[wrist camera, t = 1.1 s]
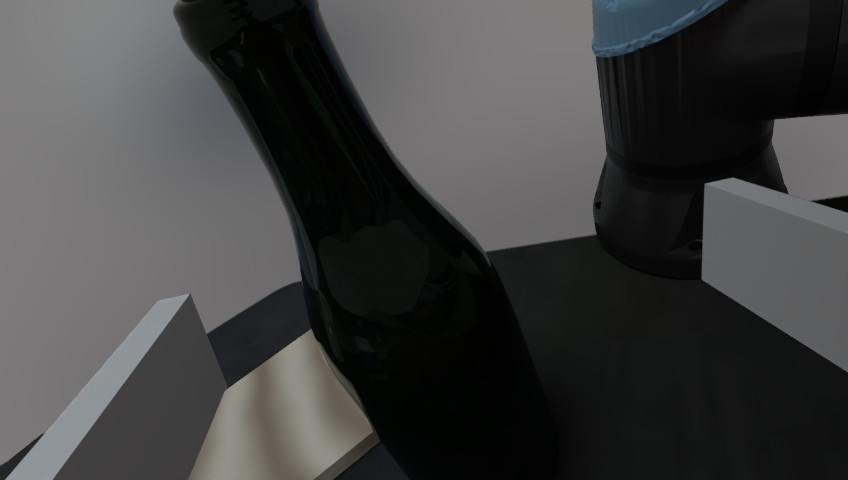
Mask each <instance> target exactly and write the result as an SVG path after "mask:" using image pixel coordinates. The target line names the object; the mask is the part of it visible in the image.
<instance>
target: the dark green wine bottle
mask: <svg viewBox="0 0 848 480" xmlns="http://www.w3.org/2000/svg"><path fill="white" fill-rule="evenodd" d="M173 14H174V17H175V20H176V22H177V24H178V26H179V28H180V32H181V35H182V38H183V40H184V41H185V43H186V45H187V46H188V48H189V49H190V51H191V52H192V53H193V55H194V56H195V58H196V59H197V60H198V61H200V62H201V63H202V64H203V65H204V67H205V68H206V70H207V71H208V72H209V74H210V75H211V76H212V78H213V79H214V81H215V82H216V84H217V85H218V87H219V89H220V90H221V92H222V94H223V95H224V97H225V98H226V100H227V102H228V103H229V105H230V107H231V109H232V110H233V112H234V113H235V115H236V117H237V118H238V120H239V122H240V123H241V125H242V126H243V128H244V130H245V132H246V134H247V136H248V137H249V139H250V141H251V143H252V144H253V146H254V148H255V150H256V152H257V154H258V155H259V157H260V159H261V161H262V163H263V164H264V166H265V168H266V170H267V172H268V173H269V175H270V177H271V179H272V181H273V184H274V186H275V188H276V190H277V192H278V195H279V197H280V199H281V201H282V203H283V205H284V208H285V210H286V214H287V217H288V220H289V223H290V226H291V230H292V233H293V236H294V240H295V246H296V251H297V256H298V261H299V266H300V272H301V278H302V284H303V291H304V297H305V303H306V308H307V313H308V318H309V323H310V326H311V329H312V332H313V335H314V337H315V340H316V342H317V344H318V347H319V349H320V352H321V354H322V357H323V359H324V361H325V363H326V365H327V366H328V368H329V369H330V371H331V372H332V374H333V375H334V377H335V378H336V380H337V382H338V383H339V385H340V386H341V388H342V389H343V391H344V392H345V394H346V395H347V397H348V398H349V399H350V401H351V402H352V404H353V405H354V406H355V408H356V409H357V411H358V412H359V413H360V415H361V416H362V417H363V419H364V420H365V421H366V423H367V424H368V425H369V427H370V428H371V429H372V431H373V432H374V433H375V435H376V436H377V437H378V439H379V440H380V441H381V443H382V444H383V445H384V447H385V448H386V449H387V451H388V452H389V453H390V455H391V456H392V457H393V459H394V460H395V461H396V463H397V464H398V465H399V466H400V468H401V469H402V470H403V472H404V473H405V474H406V476H407V477H408V478H409V479H410V480H550V478H551V475H552V473H553V470H554V467H555V463H556V456H557V435H556V431H555V427H554V423H553V419H552V415H551V411H550V408H549V406H548V403H547V400H546V397H545V394H544V391H543V388H542V385H541V382H540V379H539V377H538V374H537V371H536V368H535V366H534V363H533V360H532V357H531V355H530V352H529V349H528V346H527V344H526V341H525V338H524V336H523V333H522V330H521V327H520V325H519V322H518V319H517V317H516V314H515V311H514V309H513V306H512V304H511V302H510V299H509V297H508V295H507V293H506V290H505V288H504V286H503V283H502V281H501V279H500V277H499V274H498V272H497V271H496V269H495V267H494V265H493V263H492V262H491V260H490V259H489V257H488V256H487V254H486V253H485V251H484V250H483V248H482V247H481V246H480V244H479V243H478V241H477V240H476V238H475V237H474V236H472V234H471V233H470V232H469V231H468V230H466V228H465V227H464V226H463V225H462V224H461V223H460V222H458V220H456V218H455V217H454V216H452V214H450V213H449V212H448V211H447V210H446V209H445V208H444V207H443V206H442V205H441V204H440V203H439V202H438V201H436V200H435V199H434V198H433V197H432V196H431V195H430V194H429V193H428V192H427V191H426V190H425V189H424V188H423V187H422V186H421V185H420V184H419V183H418V182H417V181H416V180H415V179H414V178H413V177H412V175H411V174H410V173H409V172H408V170H407V169H406V168H405V167H404V166H403V164H402V163H401V162H400V161H399V159H398V158H397V157H396V156H395V154H394V153H393V151H392V150H391V148H390V147H389V145H388V143H387V142H386V140H385V139H384V137H383V135H382V134H381V132H380V131H379V129H378V127H377V126H376V124H375V123H374V121H373V119H372V117H371V115H370V114H369V112H368V110H367V108H366V106H365V104H364V102H363V100H362V98H361V97H360V95H359V93H358V90H357V89H356V87H355V85H354V83H353V81H352V79H351V77H350V75H349V73H348V71H347V69H346V67H345V65H344V63H343V61H342V59H341V57H340V54H339V52H338V50H337V48H336V47H335V44H334V42H333V40H332V37H331V36H330V33H329V31H328V29H327V27H326V25H325V22H324V20H323V17H322V14H321V11H320V9H319V2H318V0H178V2H177V3H176V4H175V5H174V8H173Z"/></svg>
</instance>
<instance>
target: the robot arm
mask: <svg viewBox="0 0 848 480" xmlns="http://www.w3.org/2000/svg"><path fill="white" fill-rule="evenodd" d="M592 6H593V31H594V37H593V40H592V50H593V51H594V53H595V55H596V62H597V70H598V80H599V89H600V97H601V106H602V115H603V123H604V131H605V140H606V151H607V155H606V159H605V162H604V166H603V169H602V173H601V176H600V180H599V183H598V187H597V191H596V194H595V198H594V202H593V215H594V222H595V229H596V233H597V236H598V238H599V240H600V242H601V244H602V245H603V246H604V248H605V249H606V250H607V251H608V252H609V253H610V254H611V255H613V256H614V257H615V258H617V259H618V260H620V261H621V262H623V263H625V264H627V265H629V266H631V267H633V268H635V269H638V270H641V271H644V272H647V273H651V274H655V275H660V276H666V277H674V278H702V280H703V281H705V282H706V283H708V284H710V285H711V286H713V287H714V288H716V289H717V290H719V291H721V292H722V293H724V294H725V295H727V296H728V297H730V298H732V299H733V300H735V301H736V302H738V303H740V304H741V305H743V306H744V307H746V308H747V309H749V310H751V311H752V312H754V313H755V314H757V315H758V316H760V317H762V318H763V319H765V320H766V321H768V322H770V323H771V324H773V325H774V326H776V327H777V328H779V329H781V330H782V331H784V332H785V333H787V334H788V335H790V336H792V337H793V338H795V339H796V340H798V341H800V342H801V343H803V344H804V345H806V346H807V347H809V348H811V349H812V350H814V351H815V352H817V353H818V354H820V355H822V356H823V357H825V358H826V359H828V360H830V361H831V362H833V363H834V364H836V365H837V366H839V367H841V368H842V369H844V370H845V371H847V372H848V213H847V212H843V211H840V210H837V209H834V208H830V207H827V206H824V205H821V204H817V203H814V202H811V201H807V200H804V199H801V198H798V197H794V196H791V195H789V194H788V191H787V188H786V186H785V184H784V181H783V178H782V174H781V170H780V167H779V163H778V160H777V157H776V154H775V151H774V148H773V146H772V135H773V127H774V120H775V119H786V118H796V117H808V116H824V115H838V114H848V0H592ZM226 387H227V385H226V382H225V380H224V377H223V375H222V372H221V370H220V367H219V364H218V362H217V359H216V357H215V354H214V352H213V349H212V347H211V344H210V342H209V339H208V337H207V334H206V332H205V329H204V327H203V324H202V322H201V319H200V317H199V314H198V312H197V309H196V307H195V304H194V302H193V299H192V297H191V294H186V295H182V296H176V297H172V298H167V299H163V300H158V301H157V303H156V304H155V305H154V306H153V307H152V308H151V310H150V311H149V312H148V313H147V314H146V315H145V317H144V318H143V319H142V320H141V321H140V322H139V324H138V325H137V326H136V327H135V329H133V331H132V332H131V333H130V334H129V335H128V337H127V338H126V339H125V340H124V341H123V342H122V344H121V345H120V346H119V347H118V348H117V349H116V351H115V352H114V353H113V354H112V355H111V356H110V358H109V359H108V360H107V361H106V362H105V364H104V365H103V366H102V367H101V368H100V370H99V371H98V372H97V373H96V374H95V375H94V376H93V378H92V379H91V380H90V381H89V382H88V383H87V385H86V386H85V387H84V388H83V389H82V390H81V392H80V393H79V394H78V395H77V396H76V398H75V399H74V400H73V401H72V402H71V403H70V405H69V406H68V407H67V408H66V409H65V411H64V412H63V413H62V414H61V415H60V416H59V417H58V419H57V420H56V421H55V422H54V423H53V425H52V426H51V427H50V428H49V429H48V430H47V431H46V433H44V434H42V435H40V436H39V437H38V438H37V439H35V440H34V441H33V442H31V443H30V444H29V445H28V446H26V447H25V448H24V449H22V450H21V451H20V452H19V453H17V454H16V455H15V456H14V457H12V458H11V459H10V460H9V461H8V463H7V464H6V465H5V466H4V467H3V468H2V469H1V471H0V480H188V479H189V477H190V474H191V472H192V469H193V467H194V464H195V462H196V460H197V457H198V455H199V452H200V450H201V448H202V445H203V443H204V440H205V438H206V435H207V433H208V431H209V428H210V426H211V423H212V421H213V419H214V416H215V414H216V411H217V409H218V406H219V404H220V402H221V399H222V397H223V394H224V392H225V390H226Z"/></svg>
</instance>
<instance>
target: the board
mask: <svg viewBox="0 0 848 480" xmlns="http://www.w3.org/2000/svg"><path fill="white" fill-rule="evenodd" d="M379 442H380V440H379V439H378V437H377V436H376V435H375V433H374V432H373V431H372V429H371V428H370V427H369V425H368V424H367V423H366V421H365V420H364V419H363V417H362V416H361V415H360V413H359V412H358V411H357V409H356V408H355V406H354V405H353V404H352V402H351V401H350V399H349V398H348V397H347V395H346V394H345V392H344V391H343V389H342V388H341V386H340V385H339V383H338V382H337V380H336V378H335V377H334V375H333V374H332V372H331V371H330V369H329V368H328V366H327V365H326V363H325V361H324V359H323V357H322V354H321V352H320V349H319V347H318V344H317V342H316V340H315V337H314V335H313V332H312V329H311V330H309V331H308V332H307V333H305V334H304V335H302V336H301V337H300V338H298V339H297V340H295V341H294V342H293V343H291V344H290V345H288V346H287V347H286V348H284V349H283V350H281V351H280V352H279V353H277V354H276V355H274V356H273V357H272V358H270V359H269V360H267V361H266V362H265V363H263V364H262V365H260V366H259V367H258V368H256V369H255V370H253V371H252V372H251V373H249V374H248V375H246V376H245V377H244V378H242V379H241V380H239V381H238V382H237V383H235V384H234V385H233V386H231V387H230V388H228V389H227V390H226V391H225V392H224V394H223V397H222V399H221V402H220V404H219V406H218V409H217V411H216V414H215V416H214V419H213V421H212V423H211V426H210V428H209V431H208V433H207V435H206V438H205V440H204V443H203V445H202V448H201V450H200V452H199V455H198V457H197V460H196V462H195V464H194V467H193V469H192V472H191V474H190V477H189V479H188V480H333V479H334V478H336V477H337V476H338V475H339V474H341V473H342V472H343V471H344V470H346V469H347V468H348V467H349V466H350V465H352V464H353V463H354V462H355V461H357V460H358V459H359V458H360V457H361V456H363V455H364V454H365V453H366V452H368V451H369V450H370V449H371V448H372V447H374V446H375V445H376V444H377V443H379Z"/></svg>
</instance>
